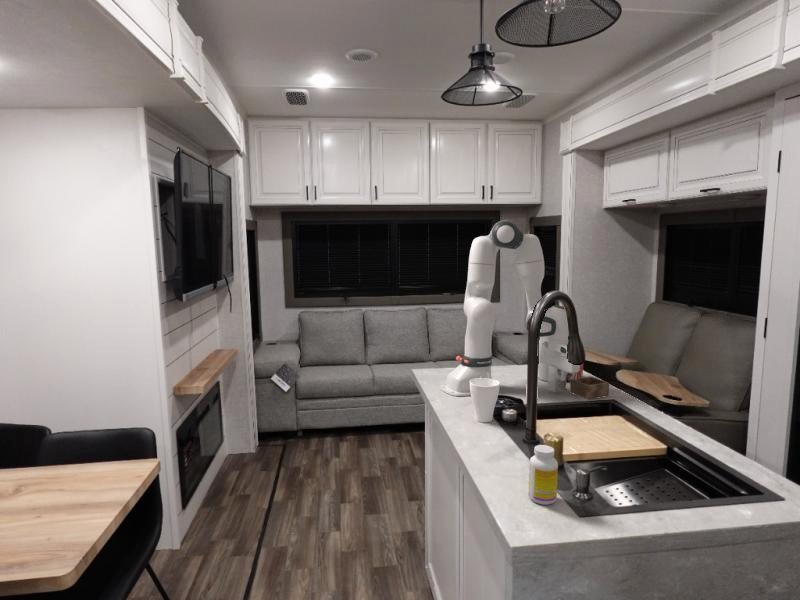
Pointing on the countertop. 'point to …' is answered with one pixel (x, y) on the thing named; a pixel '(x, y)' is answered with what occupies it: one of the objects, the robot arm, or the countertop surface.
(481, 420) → the cup
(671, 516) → the countertop surface
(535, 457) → the supplement bottle
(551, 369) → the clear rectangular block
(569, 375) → the soda can
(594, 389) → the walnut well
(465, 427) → the countertop surface
